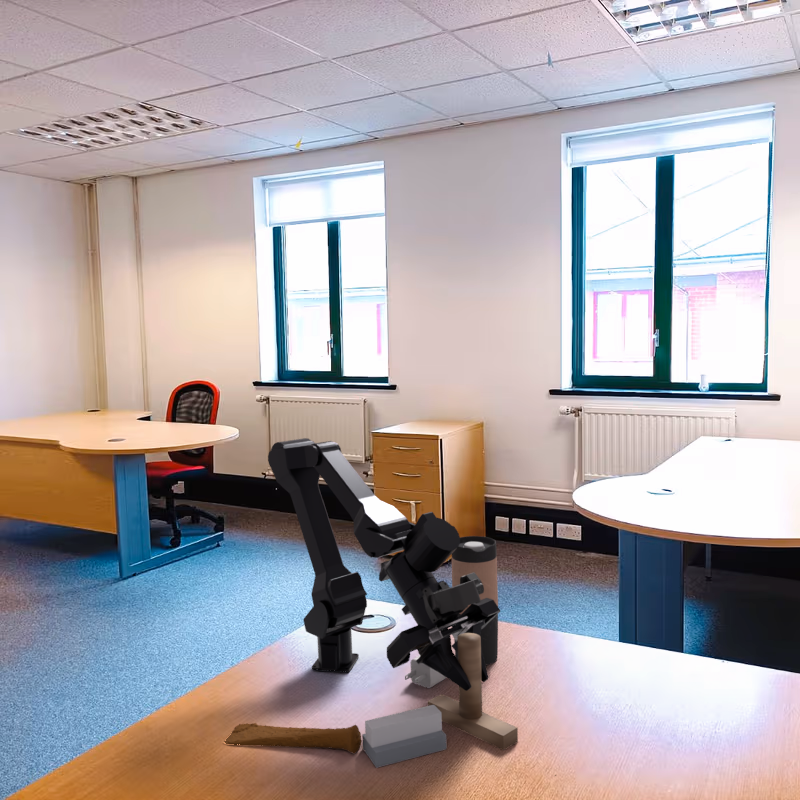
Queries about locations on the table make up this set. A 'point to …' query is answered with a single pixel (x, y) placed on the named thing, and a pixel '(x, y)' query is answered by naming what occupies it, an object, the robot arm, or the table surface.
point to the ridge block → (404, 735)
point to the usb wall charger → (423, 674)
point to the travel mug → (483, 561)
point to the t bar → (474, 700)
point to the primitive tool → (296, 737)
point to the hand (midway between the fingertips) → (477, 684)
